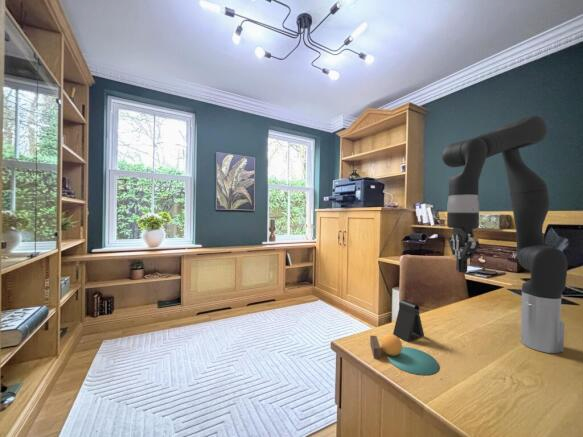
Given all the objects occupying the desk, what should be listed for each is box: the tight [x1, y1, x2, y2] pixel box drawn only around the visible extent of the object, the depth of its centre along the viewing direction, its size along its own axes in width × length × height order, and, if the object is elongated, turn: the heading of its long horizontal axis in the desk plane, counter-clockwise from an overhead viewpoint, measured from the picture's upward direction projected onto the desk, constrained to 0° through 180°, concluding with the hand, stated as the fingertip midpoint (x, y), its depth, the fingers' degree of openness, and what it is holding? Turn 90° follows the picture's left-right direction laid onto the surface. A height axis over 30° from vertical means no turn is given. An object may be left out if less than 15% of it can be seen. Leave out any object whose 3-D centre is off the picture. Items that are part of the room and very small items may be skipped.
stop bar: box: [369, 335, 382, 359], centre depth 80 cm, size 2×8×3 cm, turn 170°
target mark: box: [386, 346, 440, 376], centre depth 75 cm, size 14×14×1 cm
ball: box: [380, 333, 403, 356], centre depth 78 cm, size 6×6×6 cm
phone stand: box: [392, 299, 425, 343], centre depth 90 cm, size 9×6×12 cm, turn 118°
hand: (461, 271), depth 72 cm, fingers closed
